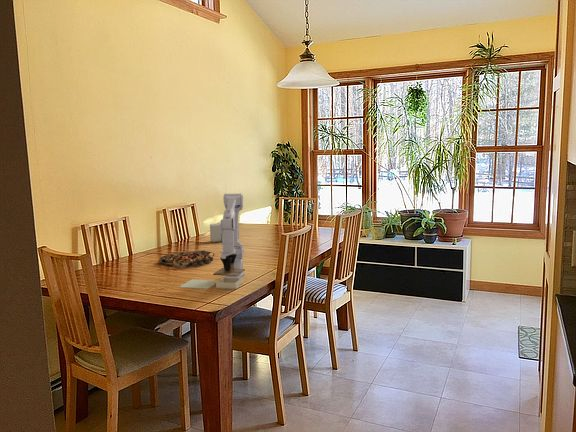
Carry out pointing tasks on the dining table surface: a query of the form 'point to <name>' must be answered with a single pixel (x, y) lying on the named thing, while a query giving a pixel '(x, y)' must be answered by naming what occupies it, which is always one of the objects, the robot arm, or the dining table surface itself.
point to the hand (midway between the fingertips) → (229, 270)
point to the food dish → (187, 259)
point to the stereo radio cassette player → (217, 232)
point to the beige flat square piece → (199, 284)
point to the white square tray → (229, 283)
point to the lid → (229, 273)
